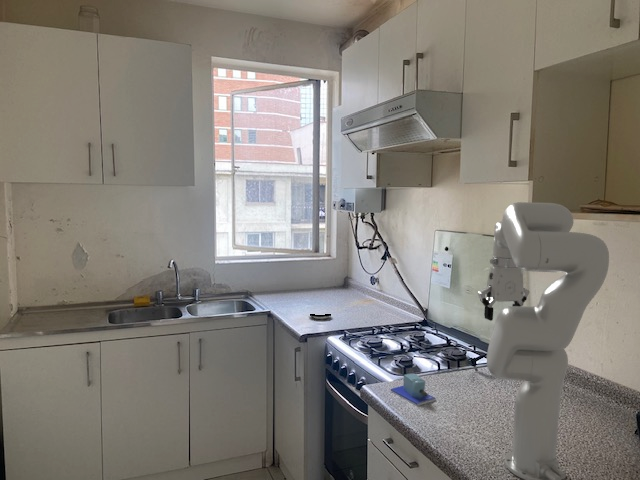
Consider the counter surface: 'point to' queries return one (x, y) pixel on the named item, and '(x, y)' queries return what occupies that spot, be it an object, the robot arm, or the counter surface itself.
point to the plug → (414, 386)
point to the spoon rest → (320, 317)
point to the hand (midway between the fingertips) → (502, 318)
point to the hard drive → (408, 397)
